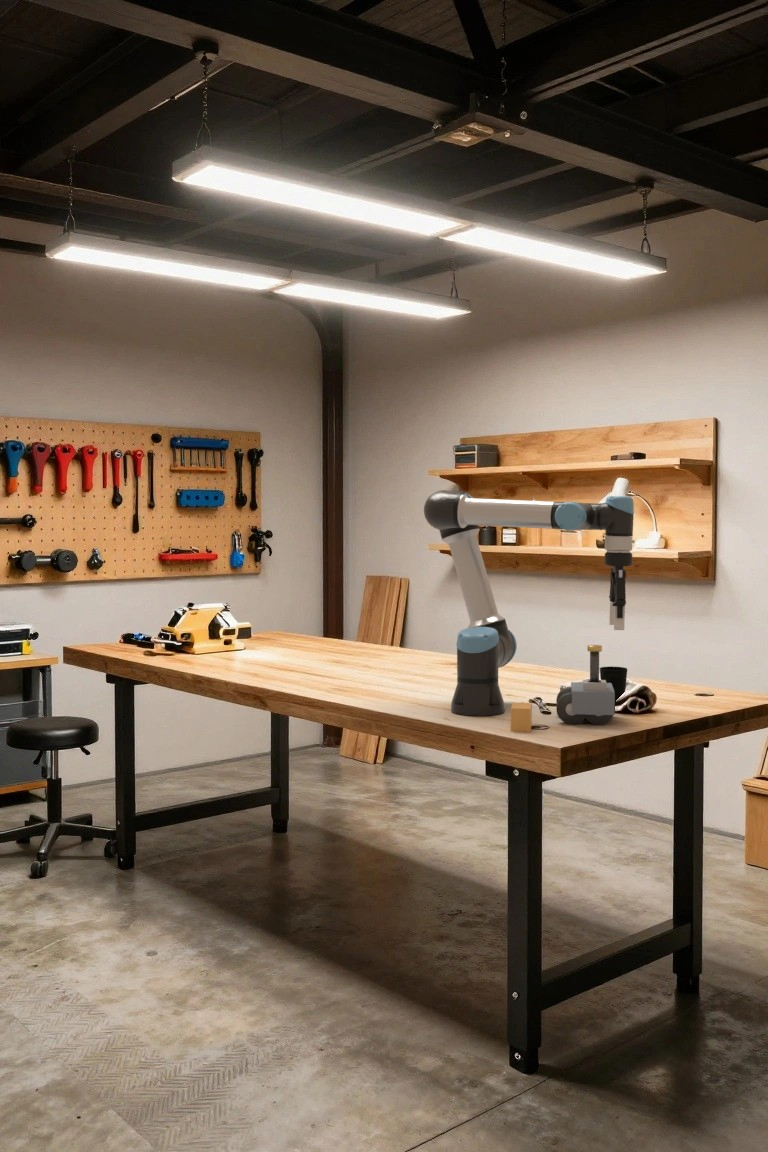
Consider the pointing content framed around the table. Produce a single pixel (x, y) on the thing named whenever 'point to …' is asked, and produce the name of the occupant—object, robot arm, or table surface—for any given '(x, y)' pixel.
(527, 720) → the block
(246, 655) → the table surface
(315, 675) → the table surface
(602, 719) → the trolley
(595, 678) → the pin
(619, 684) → the cup
